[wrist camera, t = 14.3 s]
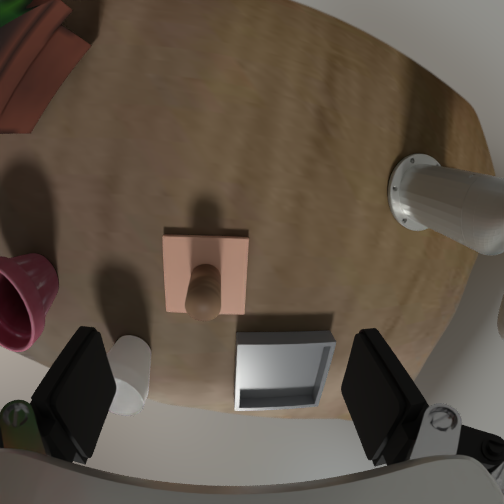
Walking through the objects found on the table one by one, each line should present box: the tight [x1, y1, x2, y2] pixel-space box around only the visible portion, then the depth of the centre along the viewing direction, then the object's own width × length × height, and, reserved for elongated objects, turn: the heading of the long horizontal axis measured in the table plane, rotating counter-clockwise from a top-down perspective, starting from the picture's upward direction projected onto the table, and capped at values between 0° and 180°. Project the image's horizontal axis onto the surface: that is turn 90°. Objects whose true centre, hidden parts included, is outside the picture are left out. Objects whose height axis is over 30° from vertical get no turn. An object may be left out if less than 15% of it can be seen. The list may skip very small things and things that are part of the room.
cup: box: [107, 335, 151, 416], centre depth 41 cm, size 9×9×12 cm
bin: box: [234, 330, 336, 411], centre depth 49 cm, size 16×16×4 cm
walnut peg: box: [185, 264, 221, 321], centre depth 39 cm, size 4×4×8 cm
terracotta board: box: [163, 234, 249, 314], centre depth 43 cm, size 12×12×1 cm
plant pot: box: [0, 253, 59, 352], centre depth 35 cm, size 14×14×13 cm
